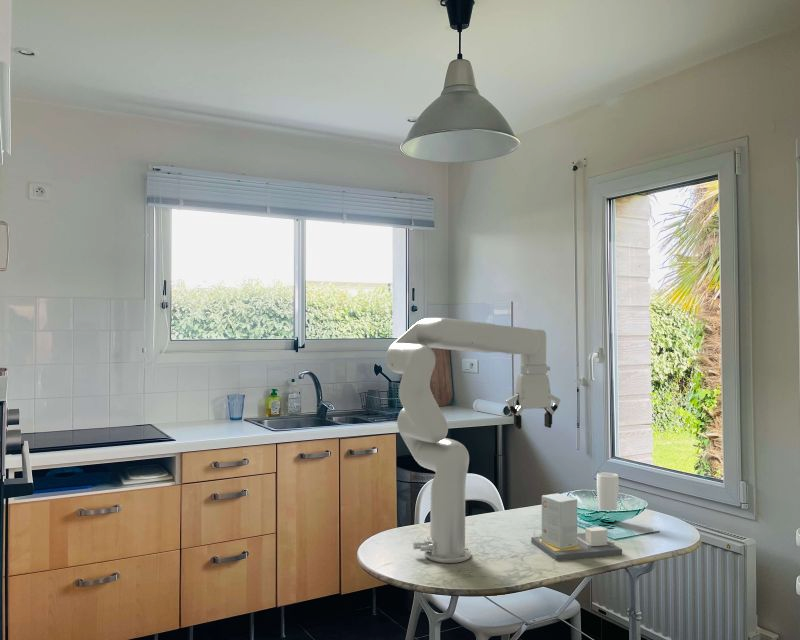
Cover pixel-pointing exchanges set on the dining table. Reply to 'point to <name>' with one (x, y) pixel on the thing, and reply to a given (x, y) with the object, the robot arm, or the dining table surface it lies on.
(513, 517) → the dining table surface
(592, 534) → the lever
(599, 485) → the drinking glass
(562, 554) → the plate
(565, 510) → the small box
